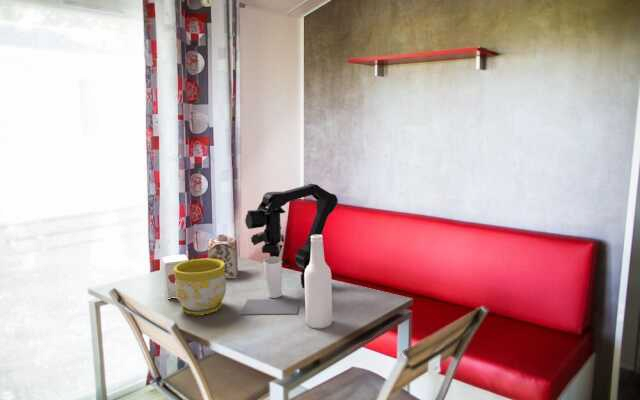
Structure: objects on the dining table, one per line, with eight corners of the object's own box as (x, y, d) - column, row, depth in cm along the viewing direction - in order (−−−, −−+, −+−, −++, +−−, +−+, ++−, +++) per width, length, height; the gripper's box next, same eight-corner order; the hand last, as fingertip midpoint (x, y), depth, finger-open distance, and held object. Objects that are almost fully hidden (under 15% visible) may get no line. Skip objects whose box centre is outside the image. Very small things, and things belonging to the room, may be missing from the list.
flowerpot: (166, 315, 174) (162, 270, 171) (195, 297, 190) (192, 256, 188) (210, 321, 167) (207, 275, 165) (236, 302, 184) (234, 260, 181)
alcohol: (335, 327, 160) (333, 237, 155) (309, 331, 158) (307, 240, 153) (327, 316, 169) (325, 231, 164) (302, 320, 166) (300, 234, 161)
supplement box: (167, 300, 188) (164, 262, 186) (164, 293, 196) (161, 256, 194) (191, 296, 192) (188, 259, 189) (187, 289, 200) (185, 253, 198)
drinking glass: (286, 291, 191) (284, 257, 186) (279, 300, 185) (277, 265, 180) (270, 289, 194) (267, 255, 188) (263, 298, 188) (260, 263, 182)
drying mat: (300, 299, 185) (300, 298, 185) (297, 314, 171) (297, 313, 171) (247, 300, 186) (247, 299, 186) (240, 314, 172) (240, 313, 172)
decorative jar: (212, 271, 223) (209, 233, 220) (238, 270, 224) (236, 231, 221) (209, 280, 211) (206, 239, 208) (236, 278, 212) (234, 238, 209)
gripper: (256, 220, 198) (258, 258, 200) (247, 231, 179) (249, 272, 182) (284, 220, 197) (285, 258, 200) (277, 230, 179) (279, 272, 181)
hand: (274, 264), depth 191 cm, fingers closed
